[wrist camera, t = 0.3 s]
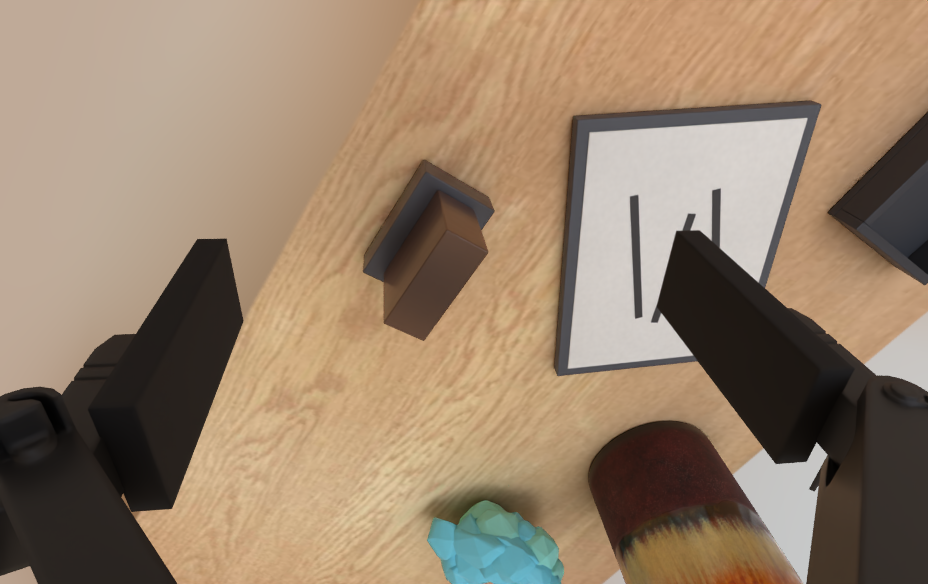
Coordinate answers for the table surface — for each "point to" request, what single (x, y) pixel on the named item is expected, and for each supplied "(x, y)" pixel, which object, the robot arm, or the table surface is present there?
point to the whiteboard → (666, 217)
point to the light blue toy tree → (495, 548)
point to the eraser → (428, 248)
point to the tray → (894, 205)
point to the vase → (681, 512)
